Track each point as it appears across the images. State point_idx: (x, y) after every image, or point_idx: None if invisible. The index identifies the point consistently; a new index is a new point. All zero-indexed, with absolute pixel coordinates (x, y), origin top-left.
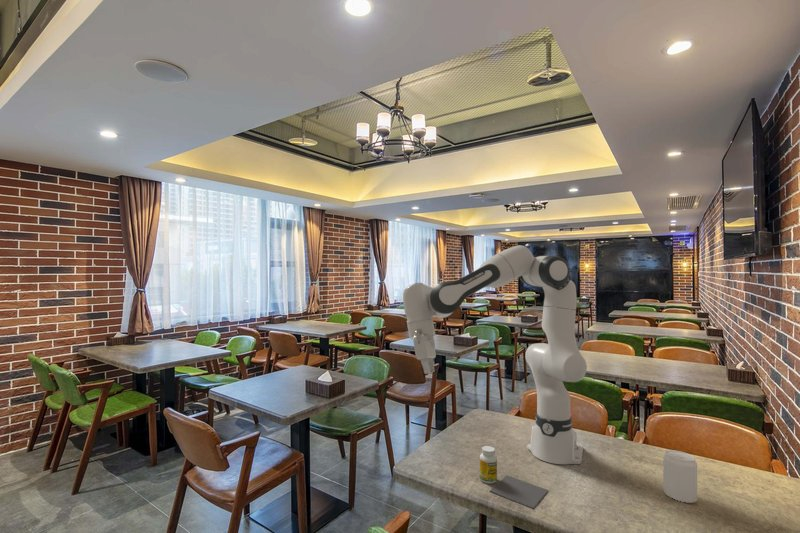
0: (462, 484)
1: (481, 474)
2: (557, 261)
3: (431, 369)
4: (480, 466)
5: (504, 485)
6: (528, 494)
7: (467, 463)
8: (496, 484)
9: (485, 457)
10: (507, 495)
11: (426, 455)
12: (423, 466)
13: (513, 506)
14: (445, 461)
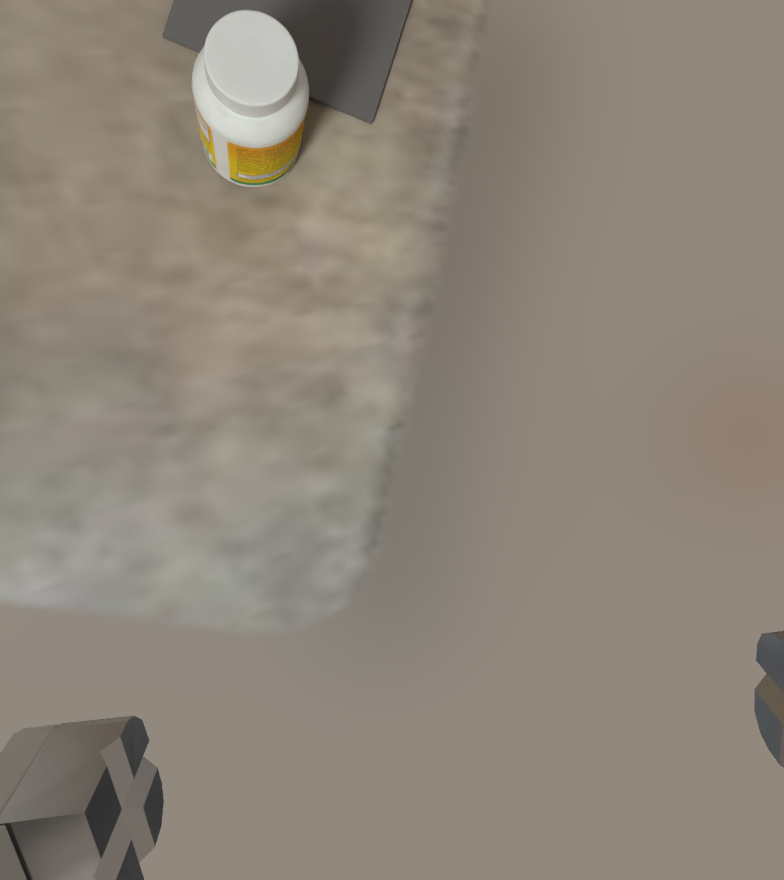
0: (358, 268)
1: (289, 162)
2: None
3: (122, 807)
4: (283, 155)
5: None
6: None
7: (102, 282)
8: None
9: (293, 96)
10: (382, 30)
11: (109, 548)
12: (257, 517)
13: (452, 6)
14: (137, 415)
